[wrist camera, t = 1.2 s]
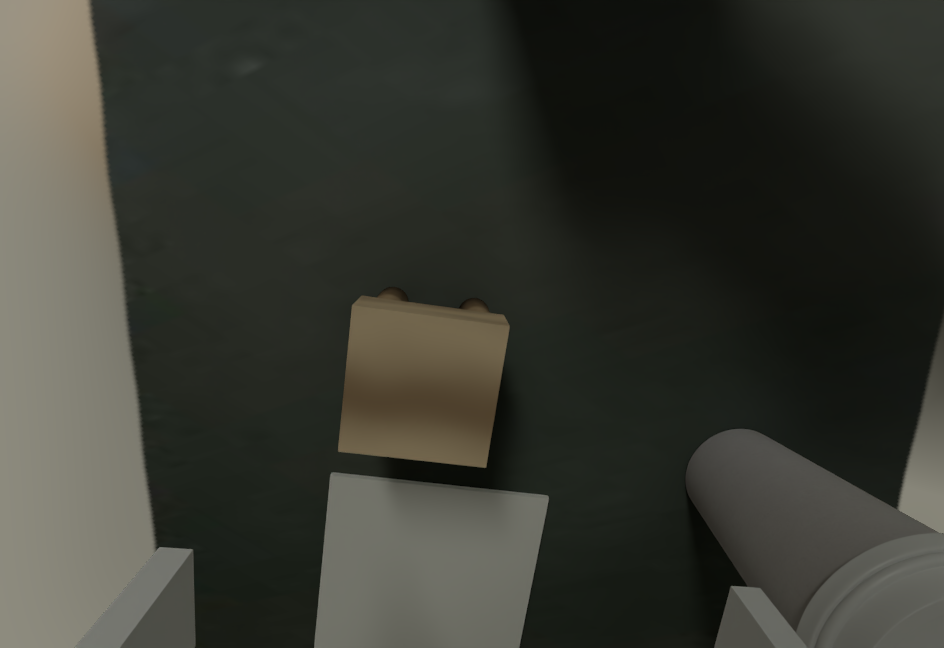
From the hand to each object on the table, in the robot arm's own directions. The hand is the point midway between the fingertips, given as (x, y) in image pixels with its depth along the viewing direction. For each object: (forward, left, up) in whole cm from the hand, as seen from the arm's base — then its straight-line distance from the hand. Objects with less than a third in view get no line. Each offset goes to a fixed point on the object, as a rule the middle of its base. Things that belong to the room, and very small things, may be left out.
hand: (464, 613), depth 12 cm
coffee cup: (+5, +19, -19) cm, 28 cm away
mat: (+17, 0, -19) cm, 25 cm away
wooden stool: (-1, -2, -19) cm, 19 cm away
